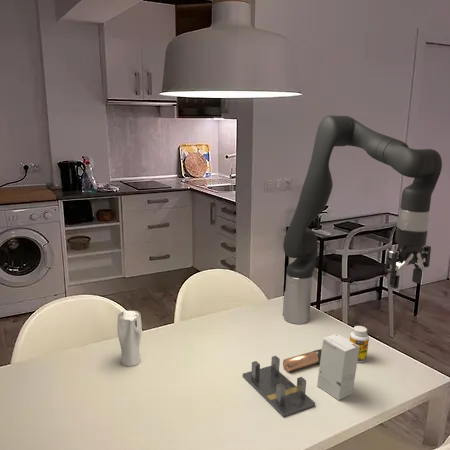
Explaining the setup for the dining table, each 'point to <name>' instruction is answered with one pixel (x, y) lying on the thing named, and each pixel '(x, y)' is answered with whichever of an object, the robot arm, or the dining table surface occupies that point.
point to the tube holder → (279, 388)
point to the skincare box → (338, 366)
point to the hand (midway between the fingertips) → (405, 285)
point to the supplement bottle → (360, 341)
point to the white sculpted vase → (129, 337)
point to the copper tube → (302, 360)
